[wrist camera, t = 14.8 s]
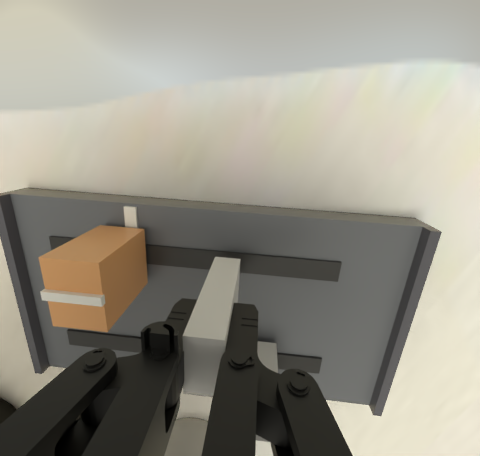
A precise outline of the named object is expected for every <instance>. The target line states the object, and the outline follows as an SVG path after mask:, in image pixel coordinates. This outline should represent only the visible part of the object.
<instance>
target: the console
mask: <svg viewBox="0 0 480 456" xmlns="http://www.w3.org/2000/svg"><path fill="white" fill-rule="evenodd" d="M99 225H105V226H117V227H128V228H140V229H144V231H145V246H146V262H147V278H148V283H147V284H146V286H145V287H144V288H143V289H142V290H141V292H140V293H139V294H138V295H137V297H136V298H135V299H134V300H133V302H132V303H131V304H130V305H129V306H128V308H127V309H126V310H125V311H124V313H123V314H122V315H121V316H120V318H119V319H118V320H117V321H116V322H115V324H114V325H113V326H112V327H111V329H110V330H109V331H108V332H101V331H92V330H83V329H75V328H66V327H57V326H53V324H52V319H51V315H50V310H49V305H48V301H43V300H42V298H41V293H40V291H42V290H43V289H45V286H44V281H43V277H42V272H41V267H40V262H39V258H38V257H40V256H42V255H44V254H46V253H48V252H50V251H51V250H53V249H55V248H57V247H59V246H61V245H63V244H65V243H67V242H69V241H71V240H73V239H74V238H76V237H78V236H80V235H82V234H84V233H86V232H88V231H90V230H92V229H94V228H96V227H97V226H99ZM440 235H441V231H439V230H437V229H435V228H433V227H431V226H429V225H427V224H425V223H423V222H422V221H420V220H418V219H416V218H406V217H393V216H380V215H367V214H355V213H342V212H329V211H316V210H303V209H290V208H278V207H265V206H252V205H239V204H226V203H213V202H200V201H188V200H175V199H162V198H149V197H136V196H123V195H111V194H98V193H85V192H72V191H59V190H46V189H34V188H24V189H19V190H15V191H10V192H5V193H0V237H1V241H2V245H3V249H4V253H5V257H6V261H7V265H8V268H9V272H10V276H11V280H12V284H13V288H14V292H15V296H16V300H17V304H18V308H19V311H20V315H21V319H22V323H23V327H24V331H25V335H26V339H27V343H28V347H29V351H30V354H31V358H32V362H33V366H34V370H35V373H40V374H42V373H43V372H44V371H45V370H46V369H47V368H48V367H49V366H54V367H62V368H67V367H69V366H70V365H71V364H72V363H73V362H74V361H76V360H77V359H78V358H79V357H80V356H82V355H83V354H85V353H87V352H89V351H91V350H94V349H99V348H107V349H111V350H112V351H114V352H115V354H116V357H117V358H118V357H125V356H131V355H136V354H139V353H141V351H142V345H141V333H140V332H141V331H142V330H143V328H144V327H146V326H148V325H149V324H151V323H155V322H158V321H166V319H167V317H168V315H169V313H171V310H172V308H173V306H174V304H175V303H177V302H178V301H179V300H180V299H182V298H186V299H196V300H198V297H199V295H200V292H201V290H202V287H203V285H204V283H205V280H206V278H207V275H208V273H209V270H210V268H211V266H212V263H213V261H214V258H215V257H224V258H236V259H241V260H240V275H239V291H238V302H237V303H243V304H254V305H255V307H256V308H257V310H258V341H261V342H270V343H276V345H277V361H278V373H279V374H281V373H282V372H283V371H285V370H288V369H300V370H302V371H305V372H307V373H308V374H310V375H311V376H312V377H313V378H314V379H315V381H316V382H317V384H318V386H319V388H320V390H321V392H322V394H323V396H324V398H325V400H332V401H340V402H348V403H356V404H365V405H369V406H370V408H371V411H372V413H373V415H377V416H381V415H382V412H383V409H384V406H385V403H386V400H387V397H388V394H389V391H390V388H391V385H392V382H393V378H394V375H395V372H396V369H397V366H398V363H399V360H400V357H401V354H402V351H403V348H404V345H405V342H406V339H407V336H408V333H409V330H410V327H411V324H412V321H413V318H414V315H415V311H416V308H417V305H418V302H419V299H420V296H421V293H422V290H423V287H424V284H425V281H426V278H427V275H428V272H429V269H430V266H431V263H432V260H433V257H434V254H435V251H436V247H437V244H438V241H439V238H440Z"/></svg>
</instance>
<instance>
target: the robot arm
mask: <svg viewBox="0 0 480 456" xmlns="http://www.w3.org/2000/svg"><path fill="white" fill-rule="evenodd" d="M240 260H241V259H236V258H224V257H215V258H214V261H213V263H212V266H211V268H210V270H209V273H208V275H207V278H206V280H205V283H204V285H203V287H202V290H201V292H200V295H199V297H198V300H196V299H186V298H182V299H180V300H179V301H178V302H177V303H175V304H174V306H173V308H172V310H171V313H169V315H168V317H167V319H166V321H158V322H155V323H151V324H149V325H148V326H146V327H144V328H143V330H142V331H141V332H140V333H141V345H142V351H141V353H139V354H136V355H131V356H125V357H118V358H117V357H116V354H115V352H114V351H112V350H111V349H107V348H99V349H94V350H91V351H89V352H87V353H85V354H83V355H82V356H80V357H79V358H78V359H77V360H76V361H74V362H73V363H72V364H71V365H70V366H69V367H67V368H66V369H65V370H64V371H63V372H61V373H60V374H59V375H58V376H57V377H56V378H54V379H53V380H52V381H51V382H50V383H48V384H47V385H46V386H45V387H44V388H43V389H41V390H40V391H39V392H38V393H37V394H35V395H34V396H33V397H32V398H31V399H30V400H28V401H27V402H26V403H25V404H24V405H22V406H21V407H20V408H19V409H18V410H17V411H15V412H14V413H13V414H12V415H11V416H9V417H8V418H7V419H6V420H5V421H4V422H2V423H1V424H0V456H164V455H165V452H166V449H167V446H168V442H169V439H170V436H171V433H172V430H173V426H174V423H175V420H176V417H177V413H178V410H179V405H180V393H181V390H182V387H183V390H184V394H193V395H201V396H209V397H213V400H212V405H211V410H210V415H209V420H208V425H207V430H206V435H205V440H204V445H203V450H202V455H201V456H255V451H256V435H258V436H260V437H262V438H263V439H265V440H267V441H269V442H270V443H271V448H272V452H273V456H352V454H351V452H350V449H349V447H348V445H347V443H346V441H345V439H344V437H343V435H342V433H341V431H340V429H339V427H338V425H337V423H336V421H335V419H334V416H333V414H332V412H331V410H330V408H329V406H328V404H327V402H326V400H325V398H324V396H323V394H322V392H321V390H320V388H319V386H318V384H317V382H316V381H315V379H314V378H313V377H312V376H311V375H310V374H308V373H307V372H305V371H302V370H300V369H288V370H285V371H283V372H282V373H281V374H279V373H277V372H274V371H272V370H270V369H268V368H267V367H265V366H264V365H263V364H262V363H261V361H260V360H259V357H258V353H257V347H258V310H257V308H256V307H255V305H254V304H243V303H237V302H238V291H239V275H240Z"/></svg>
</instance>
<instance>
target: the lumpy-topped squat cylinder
mask: <svg viewBox="0 0 480 456" xmlns="http://www.w3.org/2000/svg"><path fill="white" fill-rule="evenodd" d="M207 425H208V421H205V420H202V419H198V418H181V419H177V420H175V423H174V426H173V430H172V433H171V436H170V439H169V442H168V446H167V449H166V452H165V455H164V456H201V455H202V450H203V445H204V440H205V435H206V430H207Z"/></svg>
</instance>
